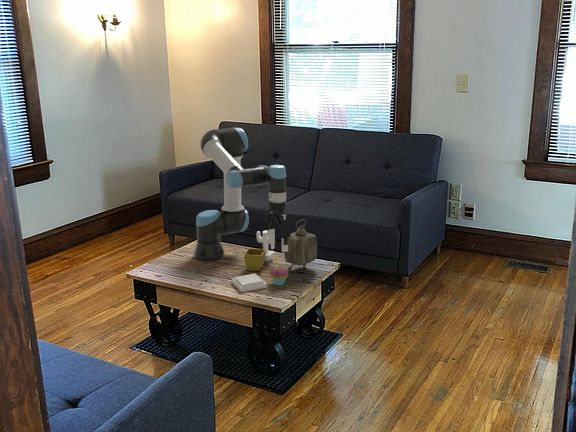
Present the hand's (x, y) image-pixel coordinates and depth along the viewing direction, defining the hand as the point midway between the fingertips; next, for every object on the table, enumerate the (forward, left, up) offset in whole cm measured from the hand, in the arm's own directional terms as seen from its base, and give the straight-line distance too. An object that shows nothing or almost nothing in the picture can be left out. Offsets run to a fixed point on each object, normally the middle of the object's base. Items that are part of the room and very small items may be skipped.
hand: (278, 247), depth 269 cm
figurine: (-31, +7, -18) cm, 37 cm away
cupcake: (0, 0, -18) cm, 18 cm away
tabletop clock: (-11, +17, -18) cm, 27 cm away
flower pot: (-21, -3, -18) cm, 28 cm away
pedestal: (-4, -13, -17) cm, 22 cm away
